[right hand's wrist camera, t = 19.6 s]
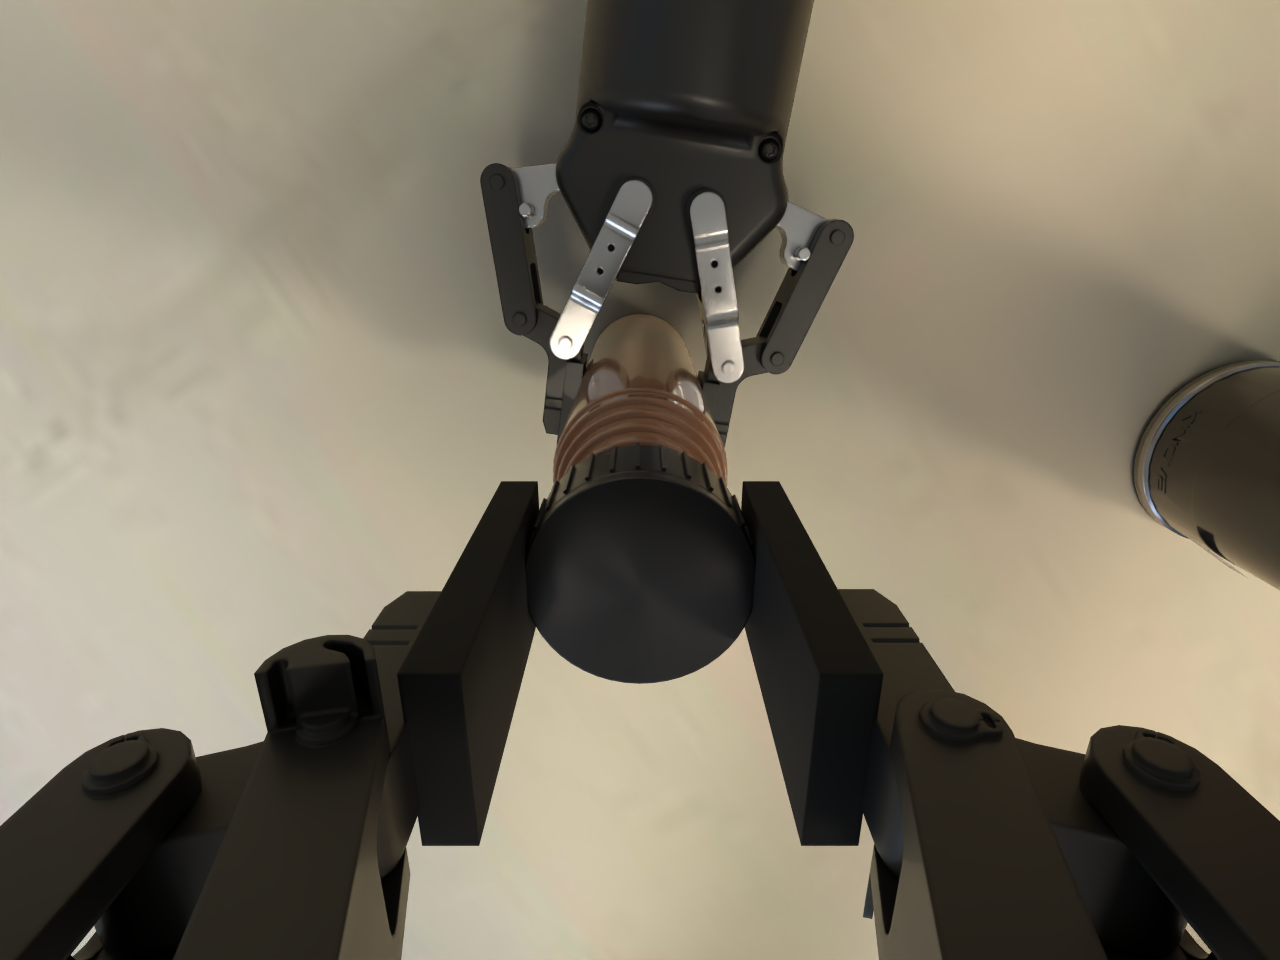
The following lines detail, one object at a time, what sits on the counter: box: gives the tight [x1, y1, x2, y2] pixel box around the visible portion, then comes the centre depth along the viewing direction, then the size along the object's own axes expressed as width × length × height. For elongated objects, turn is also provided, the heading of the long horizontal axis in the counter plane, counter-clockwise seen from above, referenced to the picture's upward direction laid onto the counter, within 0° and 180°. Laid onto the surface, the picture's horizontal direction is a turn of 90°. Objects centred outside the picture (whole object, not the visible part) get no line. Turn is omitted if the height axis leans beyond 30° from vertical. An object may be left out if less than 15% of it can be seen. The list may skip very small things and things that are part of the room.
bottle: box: [553, 314, 727, 487], centre depth 23 cm, size 5×5×22 cm
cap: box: [525, 443, 756, 684], centre depth 14 cm, size 4×4×2 cm
